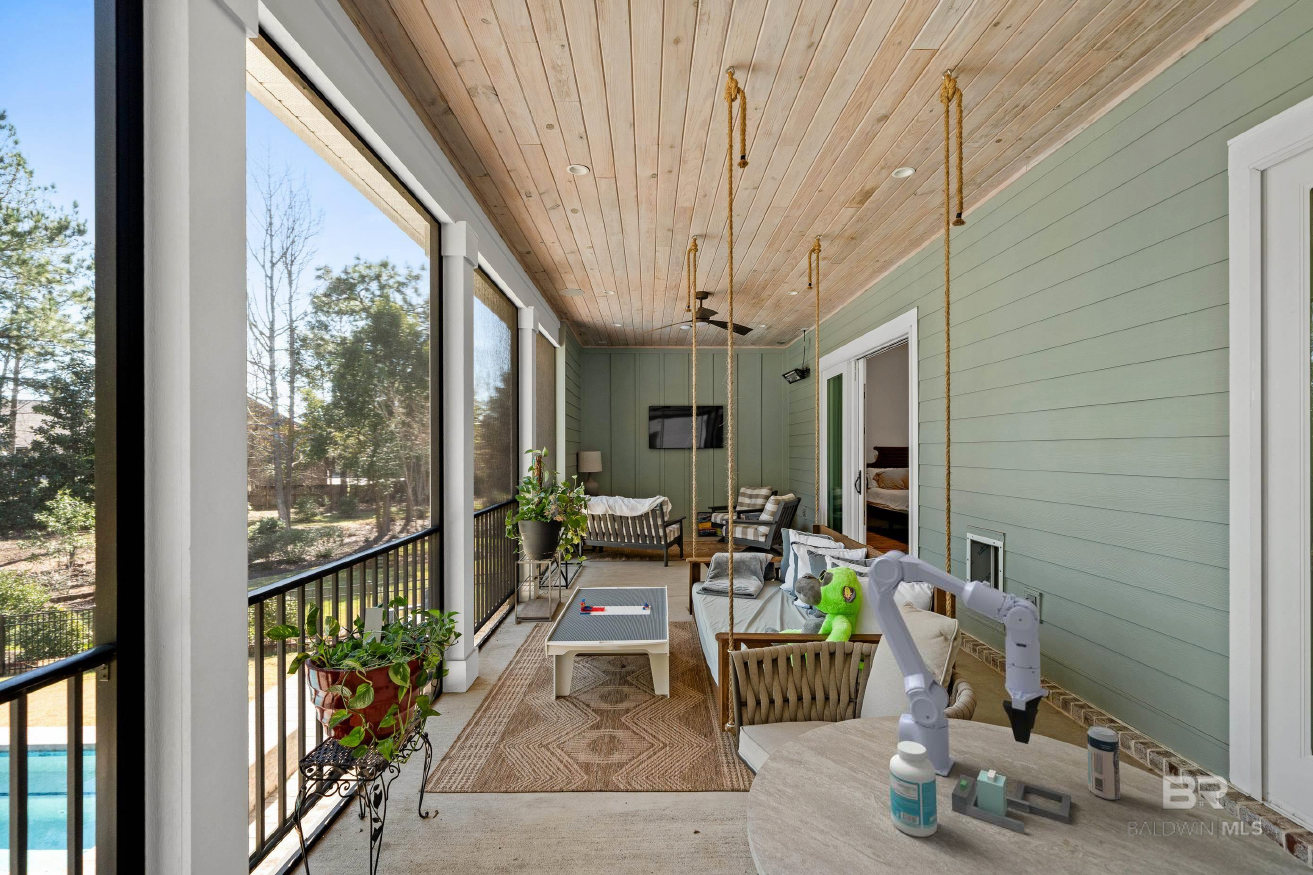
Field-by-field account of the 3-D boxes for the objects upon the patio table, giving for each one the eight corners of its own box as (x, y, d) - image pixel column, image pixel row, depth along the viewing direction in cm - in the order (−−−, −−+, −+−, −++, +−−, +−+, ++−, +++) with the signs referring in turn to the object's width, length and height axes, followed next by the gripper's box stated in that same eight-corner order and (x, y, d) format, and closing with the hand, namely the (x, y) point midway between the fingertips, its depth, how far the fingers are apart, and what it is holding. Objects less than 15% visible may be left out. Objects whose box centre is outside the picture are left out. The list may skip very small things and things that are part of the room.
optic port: (952, 809, 108) (951, 789, 108) (961, 789, 114) (961, 770, 114) (1024, 833, 101) (1023, 812, 101) (1029, 811, 107) (1029, 791, 107)
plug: (977, 812, 107) (977, 774, 107) (982, 802, 110) (981, 765, 110) (1003, 821, 104) (1002, 781, 105) (1006, 810, 108) (1005, 772, 108)
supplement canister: (1125, 802, 110) (1124, 737, 110) (1096, 800, 110) (1095, 734, 111) (1111, 788, 114) (1109, 725, 115) (1083, 785, 115) (1082, 723, 116)
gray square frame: (1012, 806, 109) (1012, 799, 109) (1018, 786, 115) (1018, 780, 115) (1067, 823, 103) (1067, 816, 103) (1071, 801, 110) (1071, 795, 110)
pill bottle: (925, 812, 107) (924, 736, 107) (945, 839, 100) (943, 757, 100) (884, 812, 107) (882, 736, 107) (900, 839, 100) (899, 757, 100)
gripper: (1043, 679, 107) (1045, 755, 106) (1050, 657, 118) (1052, 726, 118) (998, 670, 111) (1000, 744, 111) (1010, 650, 123) (1011, 716, 122)
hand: (1024, 734), depth 115 cm, fingers open, 7 cm apart
